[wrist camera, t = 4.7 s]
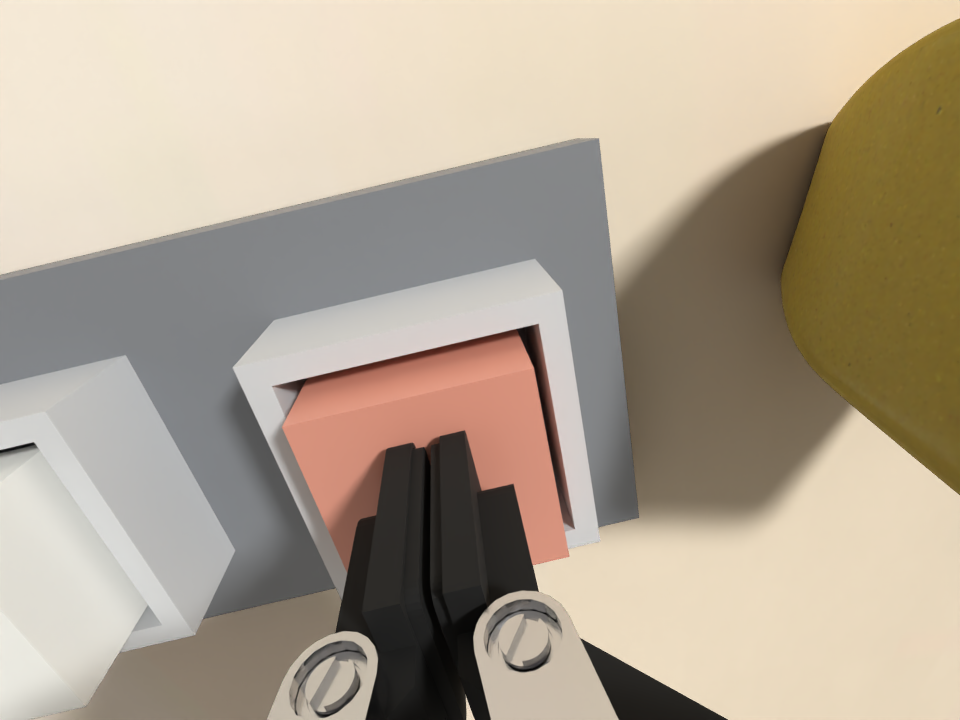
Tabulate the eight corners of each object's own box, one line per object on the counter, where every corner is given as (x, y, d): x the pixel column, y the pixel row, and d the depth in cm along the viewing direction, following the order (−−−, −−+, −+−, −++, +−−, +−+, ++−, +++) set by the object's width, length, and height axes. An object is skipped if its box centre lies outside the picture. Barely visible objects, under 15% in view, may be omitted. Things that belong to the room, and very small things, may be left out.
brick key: (543, 477, 14) (569, 556, 12) (374, 516, 14) (361, 604, 12) (511, 317, 12) (533, 368, 10) (315, 363, 12) (281, 427, 10)
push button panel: (618, 480, 19) (679, 590, 14) (49, 613, 19) (-72, 763, 14) (576, 138, 14) (648, 138, 9) (-193, 320, 14) (-494, 407, 9)
